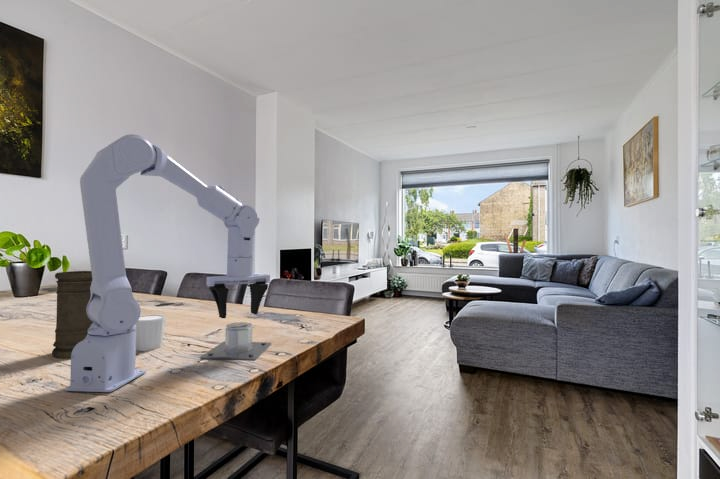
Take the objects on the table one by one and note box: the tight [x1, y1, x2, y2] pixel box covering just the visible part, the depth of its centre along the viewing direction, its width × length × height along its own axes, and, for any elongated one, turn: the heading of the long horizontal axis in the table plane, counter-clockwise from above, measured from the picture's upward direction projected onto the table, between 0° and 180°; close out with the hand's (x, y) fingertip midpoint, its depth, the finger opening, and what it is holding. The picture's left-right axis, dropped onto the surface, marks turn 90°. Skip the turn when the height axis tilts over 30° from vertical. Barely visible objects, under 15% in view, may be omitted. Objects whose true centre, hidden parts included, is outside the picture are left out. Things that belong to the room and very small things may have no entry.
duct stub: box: [200, 341, 272, 361], centre depth 83 cm, size 12×12×3 cm
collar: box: [225, 321, 253, 353], centre depth 83 cm, size 6×6×6 cm
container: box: [51, 270, 93, 359], centre depth 80 cm, size 9×9×18 cm
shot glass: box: [135, 314, 166, 352], centre depth 84 cm, size 7×7×7 cm
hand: (238, 315), depth 83 cm, fingers open, 7 cm apart
